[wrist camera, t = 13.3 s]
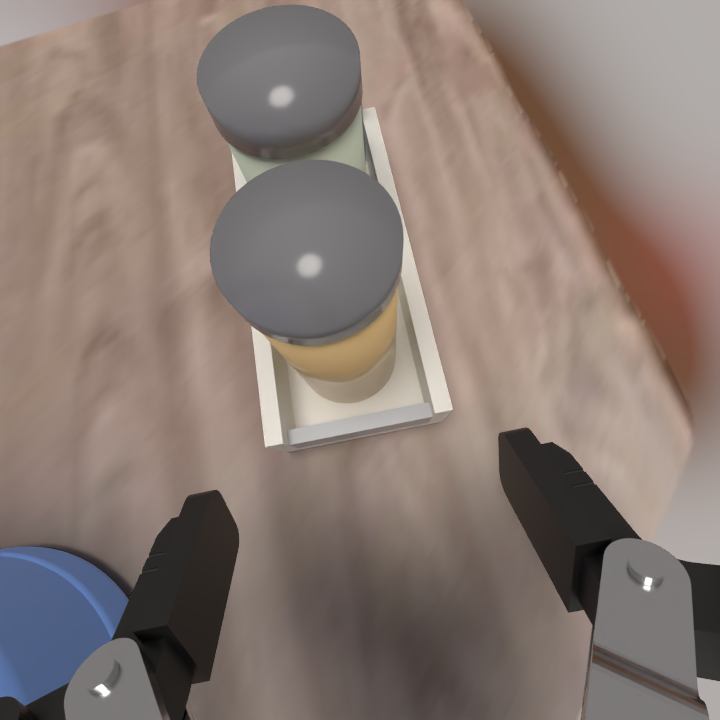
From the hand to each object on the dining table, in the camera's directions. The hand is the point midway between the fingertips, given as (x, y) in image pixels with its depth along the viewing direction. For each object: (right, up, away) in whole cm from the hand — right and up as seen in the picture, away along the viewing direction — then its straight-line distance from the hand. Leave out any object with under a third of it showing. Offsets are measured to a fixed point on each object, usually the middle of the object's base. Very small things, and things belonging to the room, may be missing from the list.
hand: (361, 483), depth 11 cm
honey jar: (-1, +4, +10) cm, 11 cm away
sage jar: (-2, +10, +12) cm, 16 cm away
